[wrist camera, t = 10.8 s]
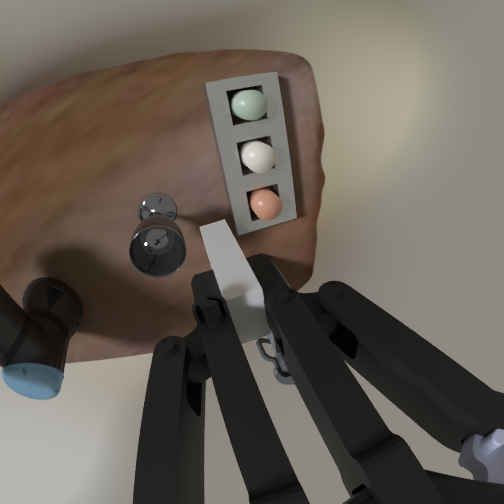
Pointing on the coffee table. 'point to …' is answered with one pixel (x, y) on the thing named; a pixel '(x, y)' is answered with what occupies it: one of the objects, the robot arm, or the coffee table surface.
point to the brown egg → (265, 203)
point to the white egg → (257, 156)
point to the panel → (246, 130)
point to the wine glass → (157, 238)
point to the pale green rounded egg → (248, 104)
